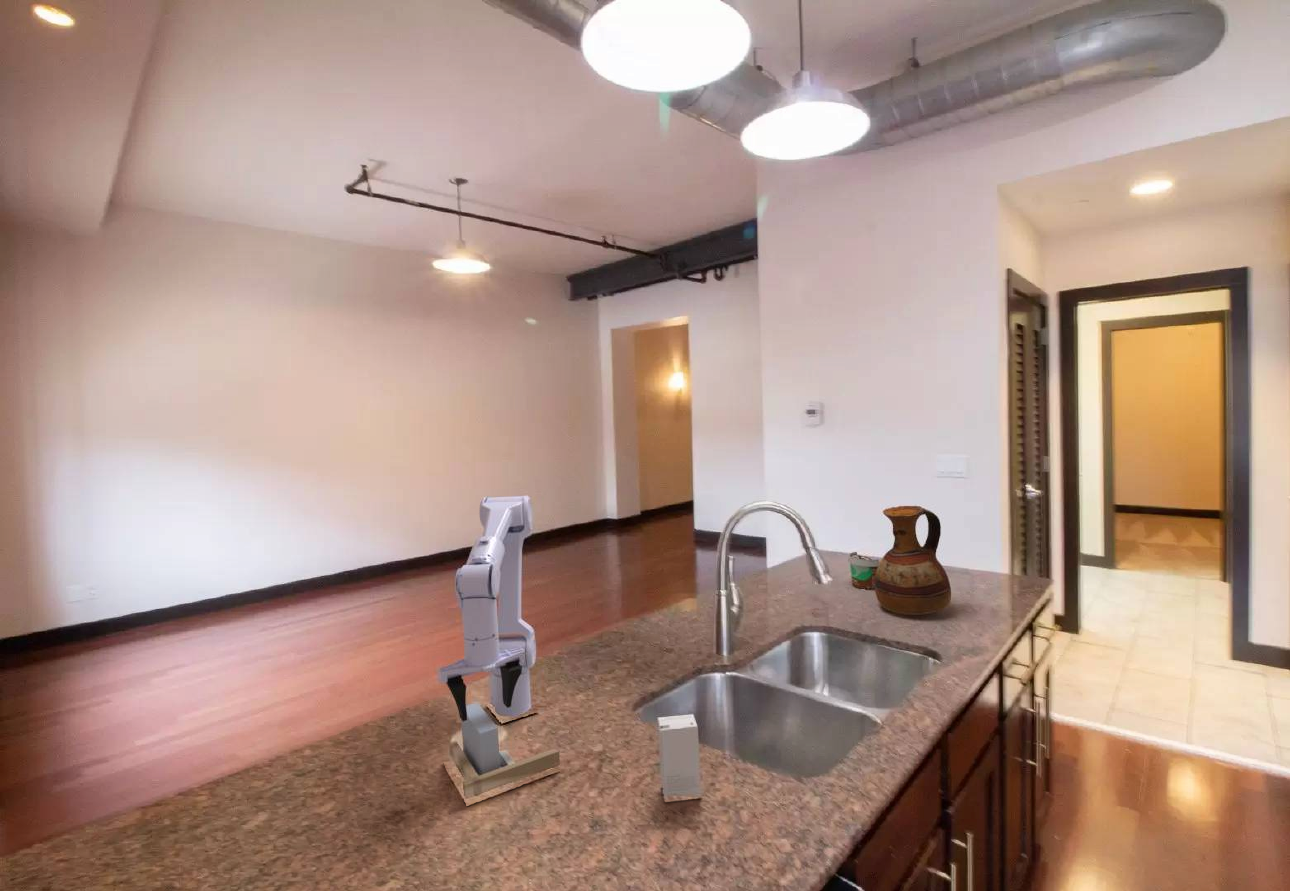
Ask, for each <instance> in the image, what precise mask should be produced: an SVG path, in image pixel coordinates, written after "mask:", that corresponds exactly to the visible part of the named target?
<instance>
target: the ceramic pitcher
mask: <svg viewBox="0 0 1290 891" xmlns="http://www.w3.org/2000/svg"><path fill="white" fill-rule="evenodd" d="M882 513H883V515H884V516H886V517H887V518H888V519H889V520H890V522H891V524H892V534H893V537H894V541H893V546H892V548H891V549H889V550H888V551H886V553H885V554H884V555H883V556H882V558H881V560H879V562H880V563H879V565H878V568H877V571H876V576H875V590H874V592H875V596H876V599H877V601H878V604H880V605H881V607H883V608H884V609H886V610H888V611H890V612H892V613H897V614H902V615H903V614H904V615H924V614H930V613H935V612H938V611H941V610H943V609H945V608H946V607H947V606H949V605H950V602H951V598H952V590H951V583H950V579H949V577H948V574H947V572H946V570H945V568H944V566H943V565H942V564H941V562H940V561H939V560H938V558H937V549H938V547H939V543H940V538H941V533H942V532H941V529H942V526H941V521H940V519H939V516H938V515H937V514H935V513H934V512H933V511H931V510H929V509H926V508H924V507H921V506H918V505H899V506H892V507H888V508H885V509H884V510H883V511H882ZM924 515H925V516H926V519H927V536H926V540H925V542H924V545H921V544H920V542H919V540H918V537H917V529H916V526H917V522H918V520H919V518H920V517H921V516H924Z"/></svg>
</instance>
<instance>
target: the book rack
mask: <svg viewBox="0 0 1290 891" xmlns="http://www.w3.org/2000/svg"><path fill="white" fill-rule="evenodd" d="M448 745H449V757H451V758H452V760H453V762H454V763H455V765H456V767H457V768H458V770H459V772H460V773H461V775H462V777H463V778H464V780H465V781H463V790H464V796H465V798H466V799H468V798H470V797H473V796H478V795H480V794H482V793H484V792H487V791H490V790H492V789H495V788H497V787H501V786H503V785H506V784H508V783H512V782H516V781H518V780H520V779H523V778H526V777H531V776H533V775H535V774H537V773H541V772H543V771H545V770H547V769H550V768H554V767H556V766H558V765H560V750H558V748H553V749H550V750H548V751H545V752H544V753H541V754H538V755H536V756H533V757H530V758H527V759H524V760H522V761H519V762H516V763H515V761H514V760H513V759H512V757H511V756H510V755H509V753H508V752H507V751H506V750H503V751H500V752H499V757H500V767H501V768H499V769H496V770H493V771H491V772H488V773H485V774H482V775H479V776H478V774H477V773H476V771H475V769H474V768H473V766H472V765H471V763H470V762H469V760H468V759H467V757H466V755H465V754H464V752H463V748H461V746H460V744H459V743H458V741H457V740H454V741H451V742H449V744H448ZM560 766H561V765H560Z"/></svg>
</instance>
